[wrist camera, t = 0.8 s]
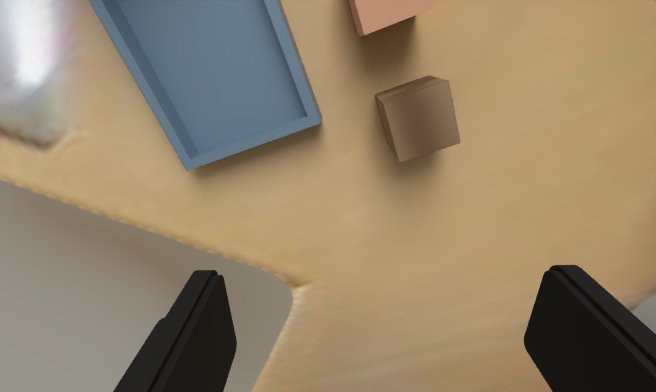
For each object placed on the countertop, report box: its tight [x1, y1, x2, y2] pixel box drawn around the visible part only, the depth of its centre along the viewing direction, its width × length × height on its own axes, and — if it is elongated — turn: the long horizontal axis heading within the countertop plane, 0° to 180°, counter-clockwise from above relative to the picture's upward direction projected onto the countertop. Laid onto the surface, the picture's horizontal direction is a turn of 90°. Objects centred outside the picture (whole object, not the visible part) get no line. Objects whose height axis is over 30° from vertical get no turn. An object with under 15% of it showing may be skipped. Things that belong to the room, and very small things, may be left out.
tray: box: [89, 0, 322, 171], centre depth 24 cm, size 12×15×2 cm
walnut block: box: [375, 75, 460, 162], centre depth 25 cm, size 4×4×5 cm
